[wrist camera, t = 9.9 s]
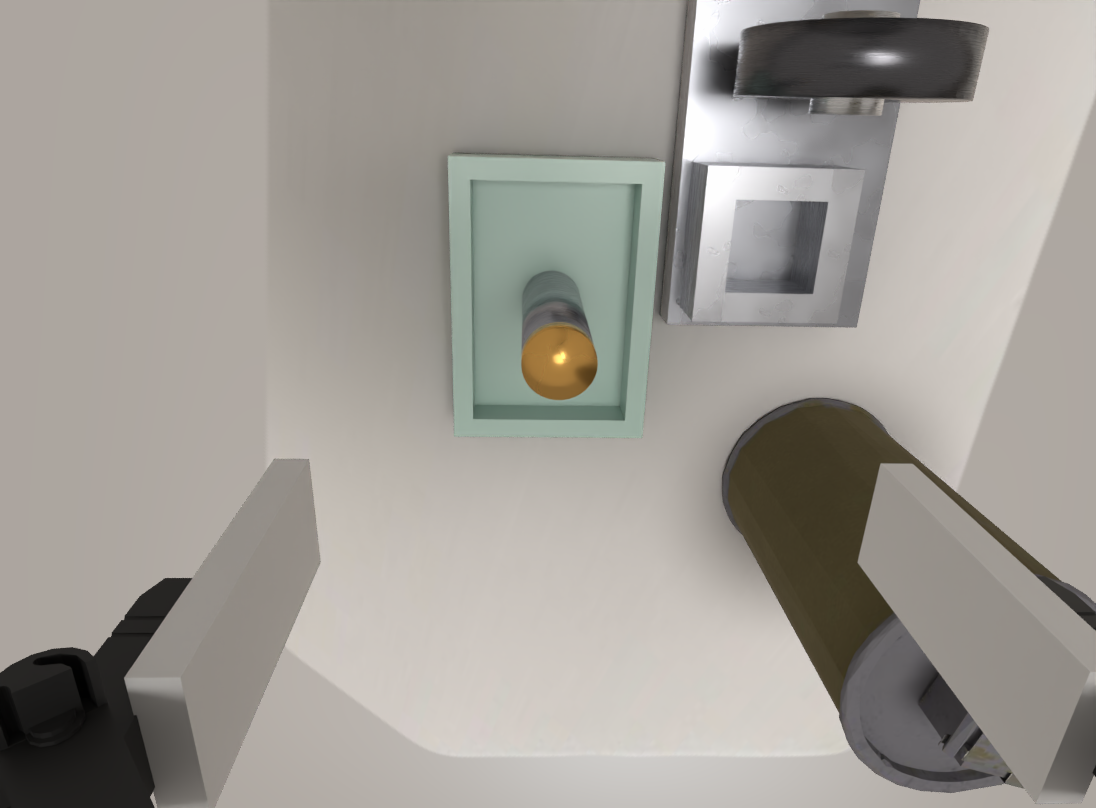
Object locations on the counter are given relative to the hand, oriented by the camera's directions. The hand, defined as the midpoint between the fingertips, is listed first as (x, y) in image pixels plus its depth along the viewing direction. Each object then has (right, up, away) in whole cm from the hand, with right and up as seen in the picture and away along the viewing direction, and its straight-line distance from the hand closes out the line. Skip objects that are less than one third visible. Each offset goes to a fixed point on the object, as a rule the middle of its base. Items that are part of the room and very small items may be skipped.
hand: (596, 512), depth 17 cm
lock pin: (-1, +8, +21) cm, 22 cm away
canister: (+15, -2, +27) cm, 31 cm away
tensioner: (+10, +15, +20) cm, 26 cm away
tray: (-1, +8, +22) cm, 23 cm away
